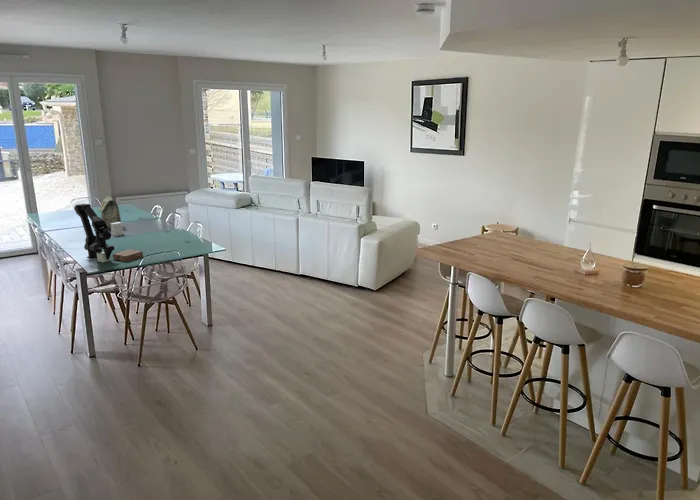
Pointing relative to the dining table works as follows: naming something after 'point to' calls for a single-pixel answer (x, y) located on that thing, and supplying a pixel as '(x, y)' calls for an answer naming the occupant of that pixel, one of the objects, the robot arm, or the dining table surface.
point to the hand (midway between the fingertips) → (104, 259)
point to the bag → (110, 211)
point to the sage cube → (102, 257)
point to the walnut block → (127, 255)
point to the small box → (117, 228)
